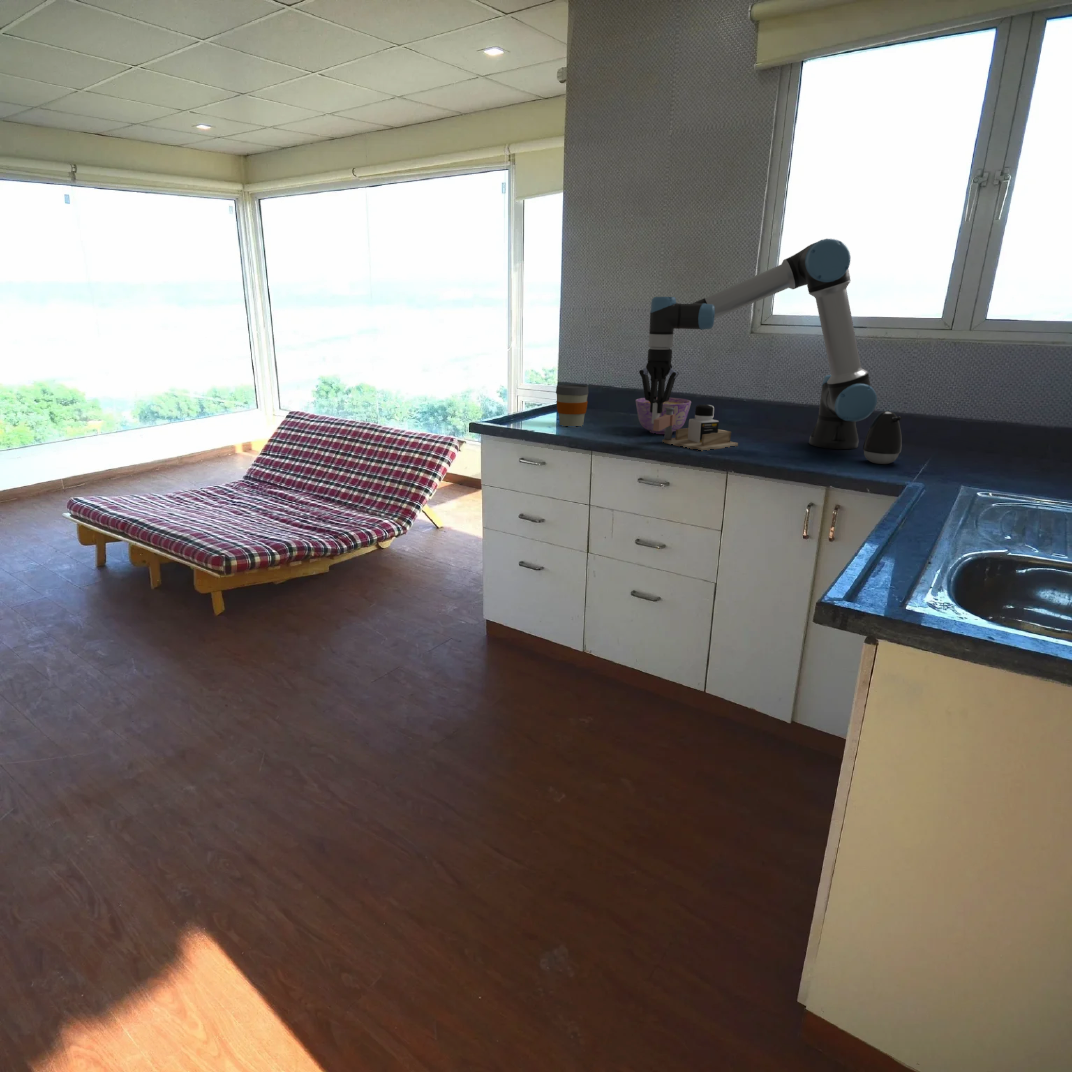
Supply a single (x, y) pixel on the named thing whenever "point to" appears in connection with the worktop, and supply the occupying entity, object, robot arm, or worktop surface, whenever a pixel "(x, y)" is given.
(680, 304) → the robot arm
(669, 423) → the hammer
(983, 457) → the worktop surface
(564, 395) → the reusable coffee cup
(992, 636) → the worktop surface
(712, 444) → the cradle
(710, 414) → the medicine bottle
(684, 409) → the bowl of food
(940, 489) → the worktop surface
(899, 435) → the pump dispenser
